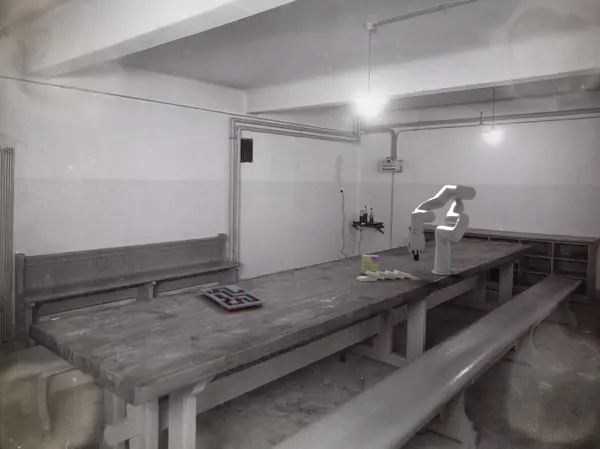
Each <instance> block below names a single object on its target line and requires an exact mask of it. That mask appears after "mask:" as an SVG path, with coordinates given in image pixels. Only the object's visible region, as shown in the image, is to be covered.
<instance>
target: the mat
mask: <svg viewBox="0 0 600 449" xmlns="http://www.w3.org/2000/svg"><path fill="white" fill-rule="evenodd" d="M412 276H413V278H412V279H411V278H408V277H404V279H401V278H397V277H395V280H394V279H390V278H387V277H385V279H384V280H383V279H380V278H377V281H373V283H381V282H382V283H383V282H399V281H400V282H402V281H416V280H418V281H420V280H422V278H419V277H418V276H415V275H412Z"/></svg>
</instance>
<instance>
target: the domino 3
mask: <svg viewBox="0 0 600 449" xmlns="http://www.w3.org/2000/svg"><path fill="white" fill-rule="evenodd" d="M376 274H378V275H380V276H384V277H387V278H390V279H394V280H395V277H394V276H391V275H388V274H386V273H384V271H380V270H378V271H377V270H376Z"/></svg>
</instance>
